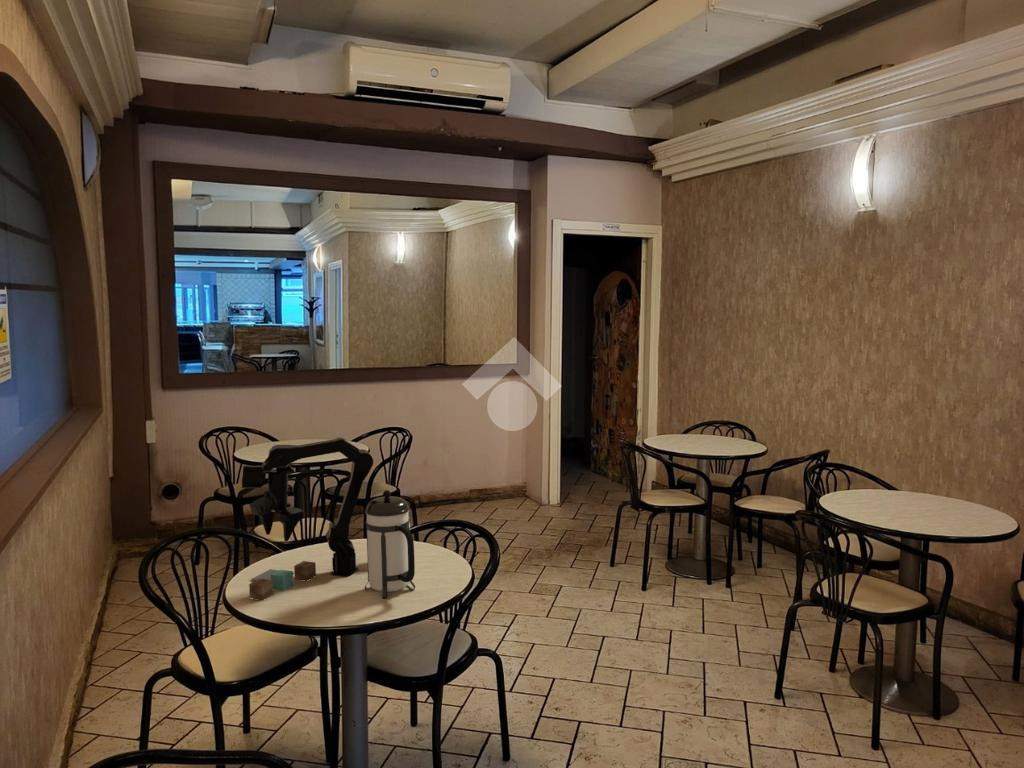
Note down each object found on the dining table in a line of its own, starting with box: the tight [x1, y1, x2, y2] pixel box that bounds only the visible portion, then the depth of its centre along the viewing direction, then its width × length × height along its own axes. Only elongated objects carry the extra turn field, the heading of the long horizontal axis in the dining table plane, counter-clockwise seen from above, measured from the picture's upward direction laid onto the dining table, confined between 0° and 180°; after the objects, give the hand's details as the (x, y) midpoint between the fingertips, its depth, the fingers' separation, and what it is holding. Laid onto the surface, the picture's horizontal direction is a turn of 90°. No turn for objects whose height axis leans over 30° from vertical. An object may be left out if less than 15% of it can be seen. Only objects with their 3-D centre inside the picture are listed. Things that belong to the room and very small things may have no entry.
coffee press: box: [364, 489, 416, 600], centre depth 213 cm, size 17×16×30 cm
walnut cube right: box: [293, 560, 317, 582], centre depth 225 cm, size 4×4×4 cm
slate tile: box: [250, 569, 295, 582], centre depth 226 cm, size 9×9×1 cm
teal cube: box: [271, 569, 294, 592], centre depth 218 cm, size 4×4×4 cm
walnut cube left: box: [248, 579, 274, 601], centre depth 211 cm, size 4×4×4 cm
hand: (277, 537), depth 222 cm, fingers open, 9 cm apart
